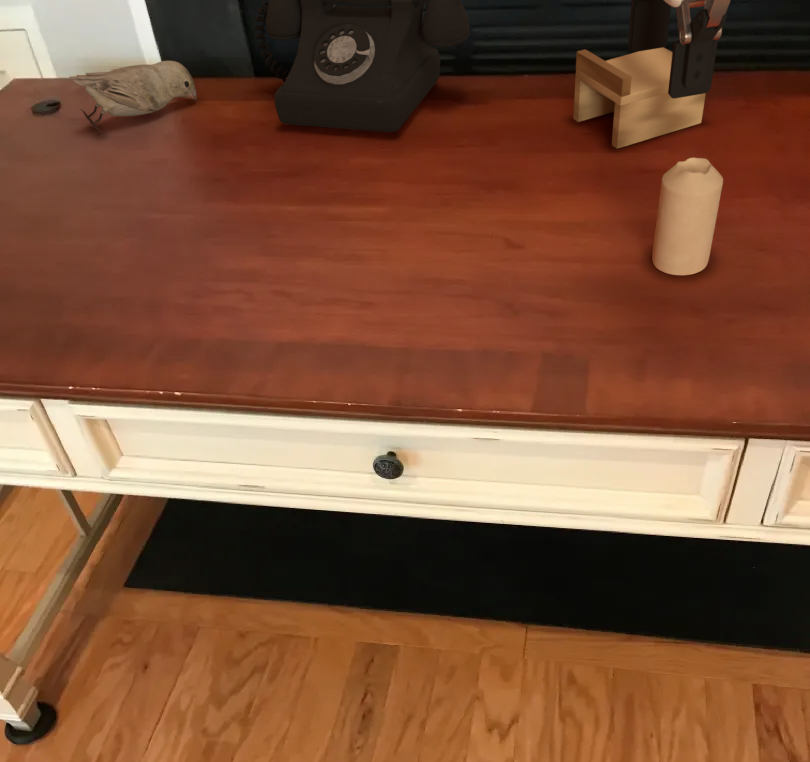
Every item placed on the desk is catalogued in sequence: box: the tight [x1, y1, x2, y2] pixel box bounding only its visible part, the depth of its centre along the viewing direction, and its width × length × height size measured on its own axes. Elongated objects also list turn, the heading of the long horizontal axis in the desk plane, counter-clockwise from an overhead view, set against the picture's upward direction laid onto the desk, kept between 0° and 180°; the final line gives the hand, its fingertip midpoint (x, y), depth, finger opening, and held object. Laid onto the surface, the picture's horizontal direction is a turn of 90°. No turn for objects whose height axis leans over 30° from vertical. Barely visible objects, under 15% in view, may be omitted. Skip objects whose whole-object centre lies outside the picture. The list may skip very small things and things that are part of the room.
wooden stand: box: [572, 47, 707, 149], centre depth 109 cm, size 12×10×8 cm
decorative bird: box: [68, 60, 198, 134], centre depth 123 cm, size 5×16×7 cm, turn 118°
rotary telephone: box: [253, 0, 471, 133], centre depth 116 cm, size 30×17×15 cm, turn 70°
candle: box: [651, 157, 724, 276], centre depth 87 cm, size 6×6×10 cm
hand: (667, 70), depth 73 cm, fingers open, 9 cm apart
